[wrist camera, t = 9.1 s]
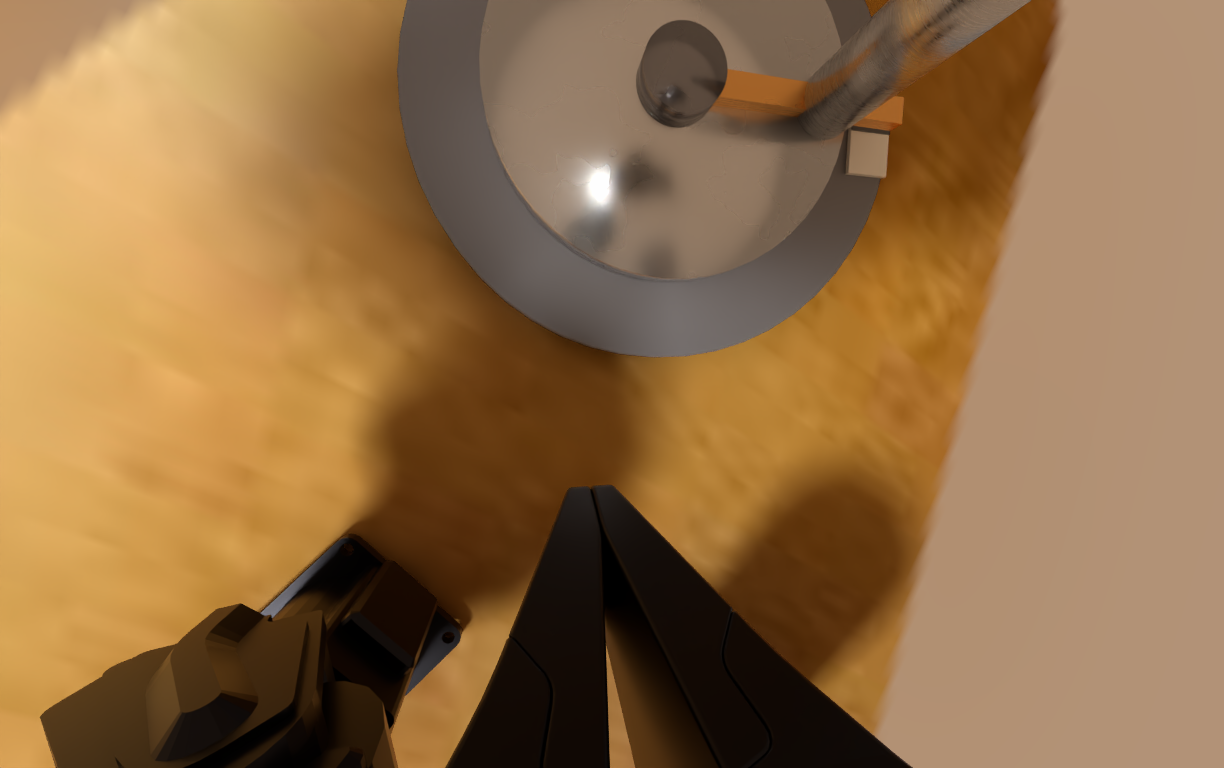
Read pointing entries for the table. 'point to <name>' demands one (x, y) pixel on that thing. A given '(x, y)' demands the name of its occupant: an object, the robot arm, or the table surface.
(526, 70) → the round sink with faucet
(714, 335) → the dial base
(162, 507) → the table surface
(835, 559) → the table surface
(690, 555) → the table surface
